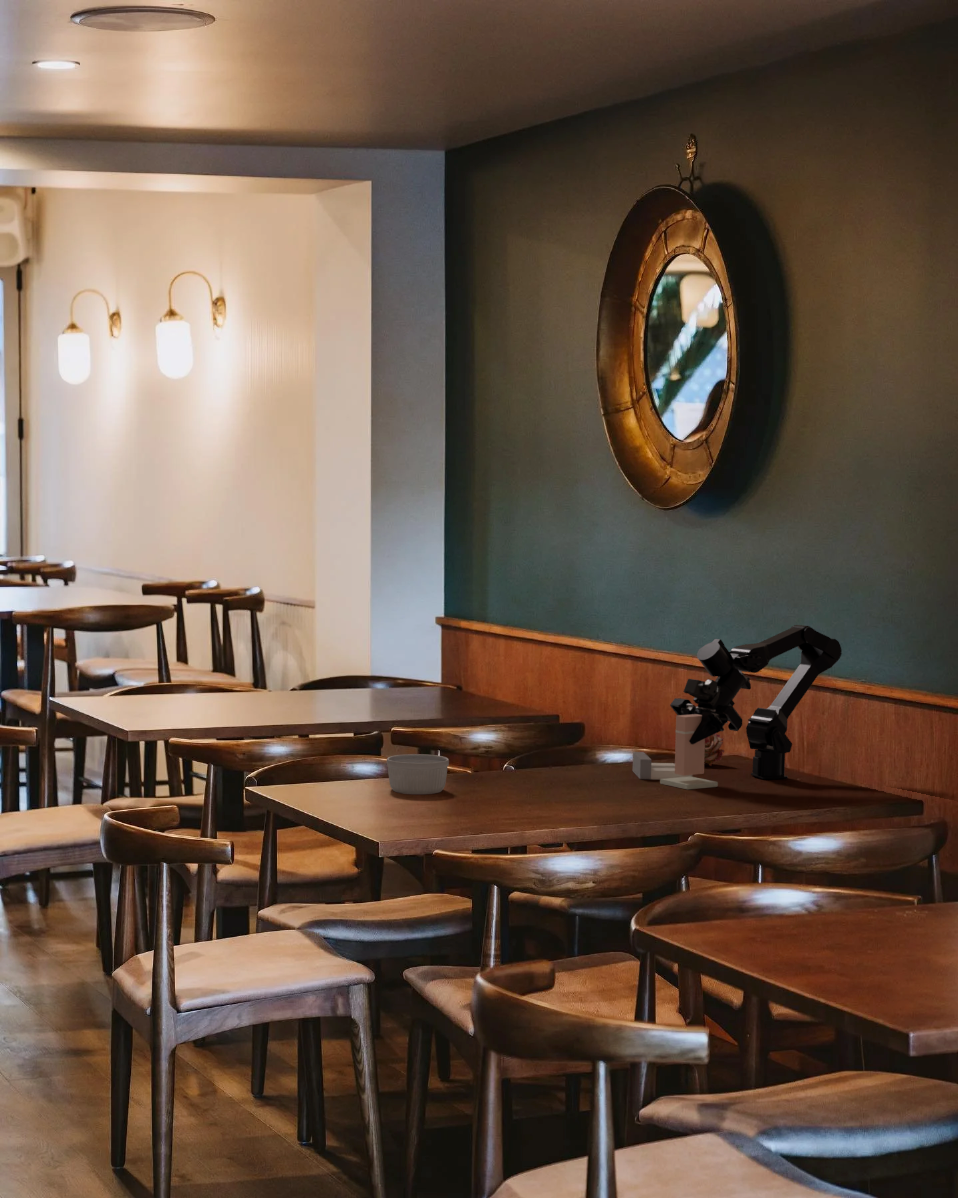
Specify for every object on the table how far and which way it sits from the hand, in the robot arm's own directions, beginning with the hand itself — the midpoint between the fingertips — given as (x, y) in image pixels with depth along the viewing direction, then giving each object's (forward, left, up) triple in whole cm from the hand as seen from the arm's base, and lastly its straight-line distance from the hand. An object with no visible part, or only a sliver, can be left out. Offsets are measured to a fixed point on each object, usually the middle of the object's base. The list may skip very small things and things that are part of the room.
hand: (685, 742), depth 360 cm
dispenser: (-1, -14, -10) cm, 17 cm away
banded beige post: (-1, 0, -7) cm, 7 cm away
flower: (-19, -28, -10) cm, 36 cm away
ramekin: (+61, -4, -10) cm, 62 cm away
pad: (-1, 0, -10) cm, 10 cm away
